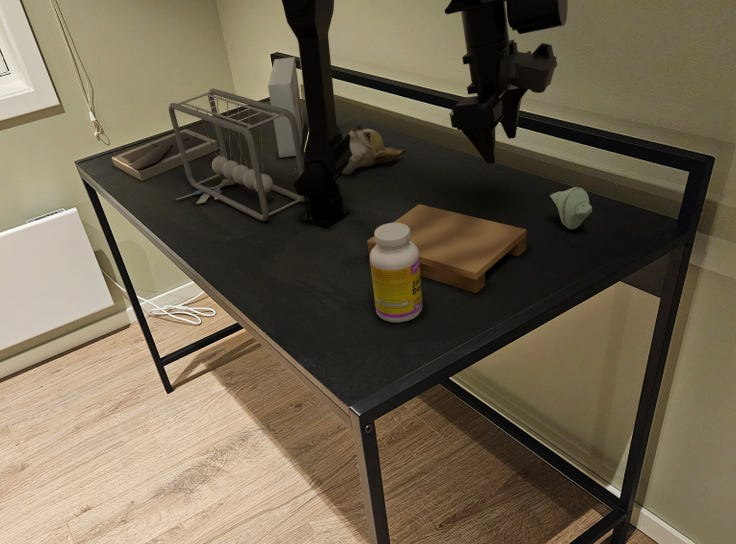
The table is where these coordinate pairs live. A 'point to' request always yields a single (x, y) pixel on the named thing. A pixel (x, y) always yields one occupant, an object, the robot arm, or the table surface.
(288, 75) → the skincare box
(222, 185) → the key chain
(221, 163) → the newton's cradle
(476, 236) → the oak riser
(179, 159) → the picture frame
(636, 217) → the table surface
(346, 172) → the ceramic sculpture
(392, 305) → the supplement bottle
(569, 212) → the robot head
